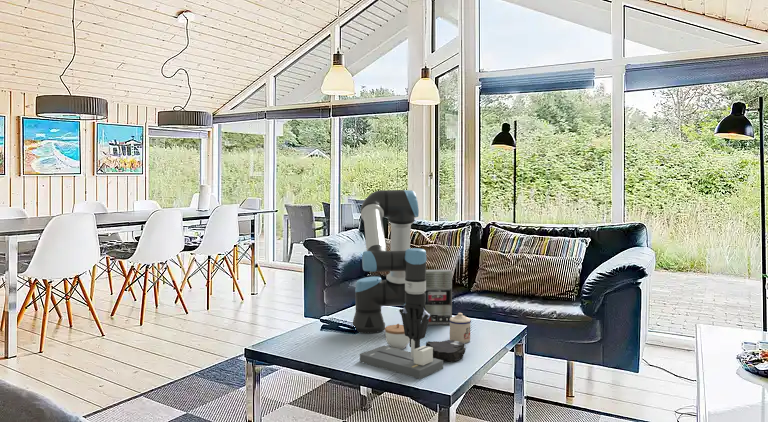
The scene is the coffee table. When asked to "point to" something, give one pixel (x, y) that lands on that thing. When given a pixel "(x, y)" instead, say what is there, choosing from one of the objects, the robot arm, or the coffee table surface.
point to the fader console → (399, 362)
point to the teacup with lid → (460, 328)
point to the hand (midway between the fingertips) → (414, 356)
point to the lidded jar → (396, 336)
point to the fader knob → (423, 355)
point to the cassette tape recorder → (439, 296)
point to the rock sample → (447, 350)
